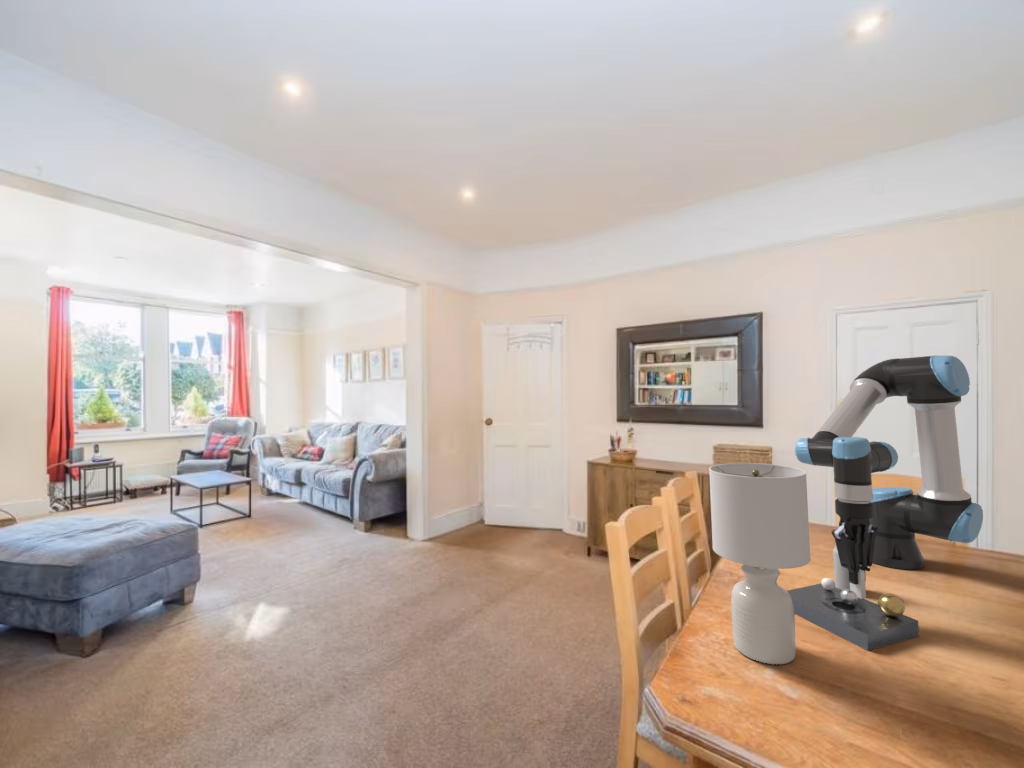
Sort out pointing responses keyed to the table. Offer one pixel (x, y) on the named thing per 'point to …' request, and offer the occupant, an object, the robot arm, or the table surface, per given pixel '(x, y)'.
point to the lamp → (761, 550)
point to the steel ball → (848, 597)
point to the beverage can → (840, 572)
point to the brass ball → (891, 605)
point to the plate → (852, 618)
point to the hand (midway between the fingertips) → (858, 596)
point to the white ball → (828, 583)
